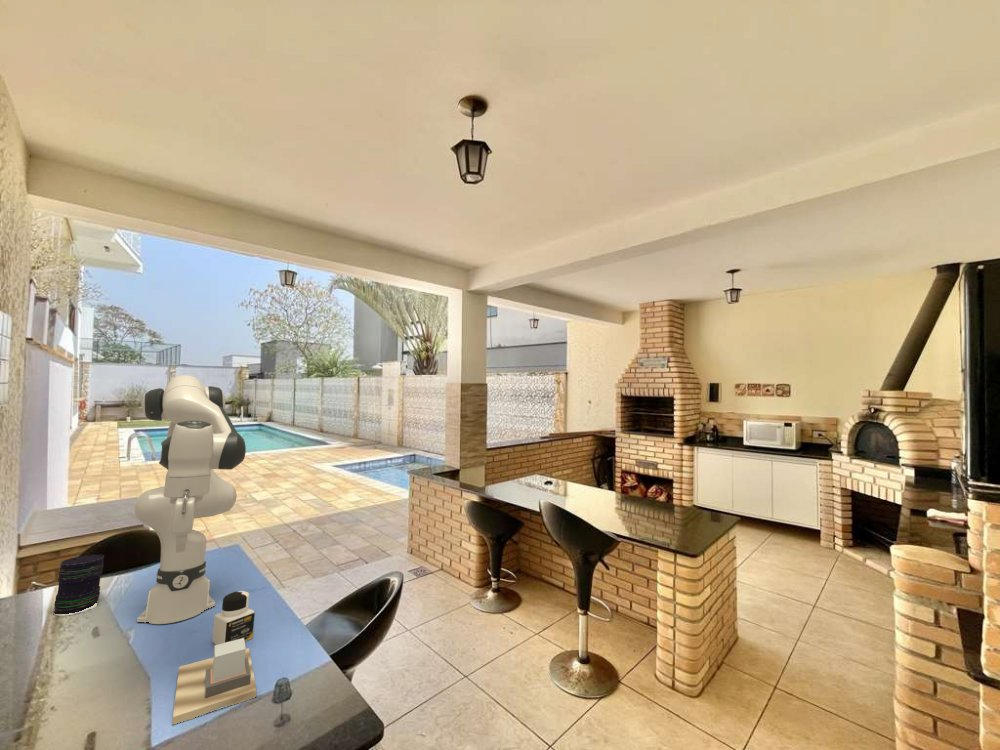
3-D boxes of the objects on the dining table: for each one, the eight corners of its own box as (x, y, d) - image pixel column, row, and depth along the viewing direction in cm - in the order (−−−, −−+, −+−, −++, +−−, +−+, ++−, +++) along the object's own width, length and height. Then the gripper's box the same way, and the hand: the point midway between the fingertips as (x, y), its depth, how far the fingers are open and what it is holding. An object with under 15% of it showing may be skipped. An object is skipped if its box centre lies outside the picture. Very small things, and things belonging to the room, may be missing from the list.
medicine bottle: (224, 650, 103) (228, 601, 104) (211, 642, 107) (215, 595, 108) (253, 638, 109) (256, 592, 111) (240, 631, 113) (243, 586, 114)
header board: (178, 673, 93) (181, 643, 94) (248, 654, 102) (250, 626, 102) (172, 725, 77) (175, 688, 78) (255, 697, 86) (258, 664, 86)
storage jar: (107, 603, 130) (113, 555, 132) (72, 617, 120) (79, 565, 122) (80, 601, 131) (86, 553, 132) (43, 615, 121) (50, 563, 123)
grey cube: (212, 669, 89) (214, 645, 90) (242, 660, 93) (243, 637, 93) (212, 682, 85) (214, 657, 85) (243, 673, 88) (245, 648, 89)
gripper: (203, 492, 91) (196, 555, 89) (204, 481, 108) (198, 534, 106) (167, 494, 87) (160, 560, 86) (174, 483, 104) (168, 538, 102)
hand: (181, 546), depth 96 cm, fingers open, 8 cm apart
